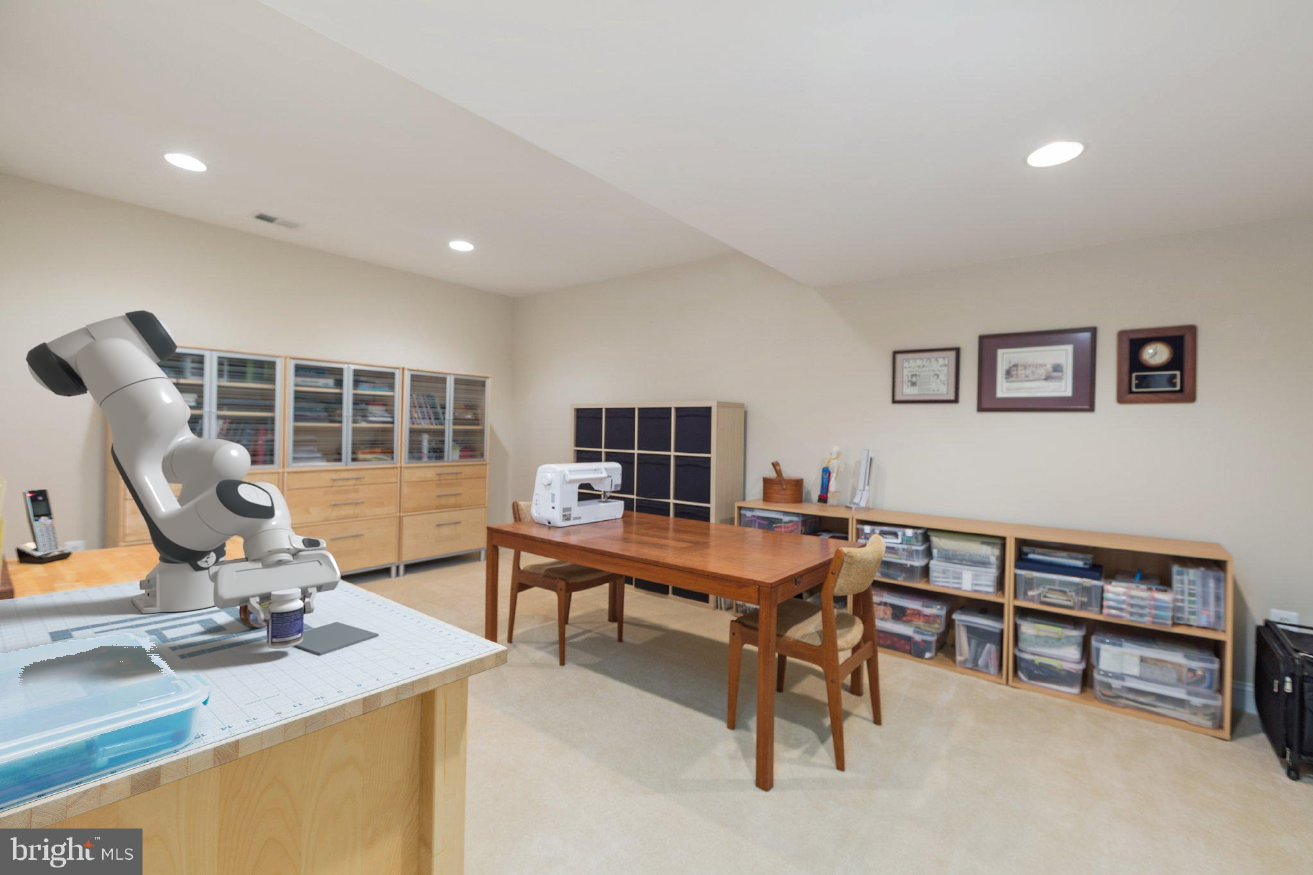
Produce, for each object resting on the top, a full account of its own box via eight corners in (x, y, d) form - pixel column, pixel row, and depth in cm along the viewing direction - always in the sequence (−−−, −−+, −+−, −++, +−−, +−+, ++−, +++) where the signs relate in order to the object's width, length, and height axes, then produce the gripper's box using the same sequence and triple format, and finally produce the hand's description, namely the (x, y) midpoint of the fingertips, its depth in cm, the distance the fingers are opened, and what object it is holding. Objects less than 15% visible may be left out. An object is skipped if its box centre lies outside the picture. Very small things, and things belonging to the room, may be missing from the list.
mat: (277, 640, 113) (277, 638, 113) (336, 623, 124) (336, 621, 124) (320, 655, 106) (320, 653, 106) (378, 635, 117) (378, 633, 117)
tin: (248, 633, 117) (249, 592, 117) (235, 632, 117) (236, 591, 117) (307, 611, 131) (307, 574, 131) (295, 610, 132) (296, 573, 132)
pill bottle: (310, 640, 108) (311, 588, 108) (281, 651, 103) (282, 596, 103) (288, 636, 110) (289, 585, 110) (258, 647, 105) (259, 592, 104)
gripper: (209, 552, 103) (221, 619, 96) (333, 538, 118) (350, 595, 111) (203, 572, 106) (214, 639, 99) (325, 556, 121) (341, 613, 115)
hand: (287, 616), depth 106 cm, fingers closed on pill bottle, 6 cm apart
